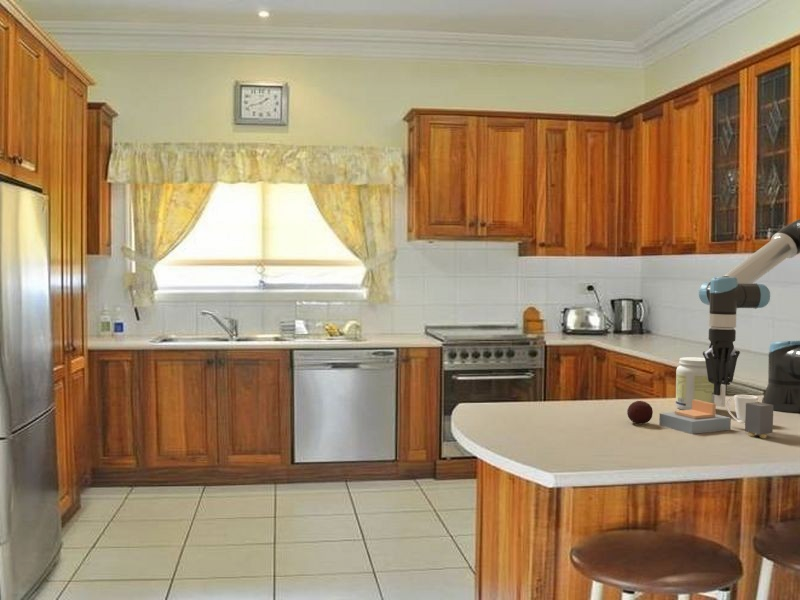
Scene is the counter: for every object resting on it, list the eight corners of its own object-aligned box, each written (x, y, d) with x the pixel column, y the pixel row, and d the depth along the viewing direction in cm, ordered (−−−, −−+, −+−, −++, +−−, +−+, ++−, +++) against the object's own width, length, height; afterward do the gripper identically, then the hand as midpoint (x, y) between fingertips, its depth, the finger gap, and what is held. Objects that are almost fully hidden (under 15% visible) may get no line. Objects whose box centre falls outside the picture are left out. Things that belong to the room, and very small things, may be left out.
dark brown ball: (653, 422, 235) (654, 399, 234) (650, 427, 228) (651, 404, 227) (628, 420, 238) (629, 397, 237) (625, 425, 231) (625, 401, 230)
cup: (748, 425, 231) (748, 399, 231) (719, 419, 240) (720, 394, 240) (762, 423, 235) (763, 397, 234) (734, 417, 243) (735, 392, 243)
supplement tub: (717, 408, 259) (718, 358, 258) (710, 414, 249) (711, 362, 248) (679, 404, 266) (681, 355, 265) (671, 409, 255) (672, 359, 255)
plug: (757, 433, 220) (758, 401, 220) (772, 437, 216) (773, 404, 215) (744, 435, 218) (745, 403, 218) (759, 438, 214) (760, 406, 213)
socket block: (696, 421, 237) (697, 409, 237) (730, 429, 225) (730, 417, 225) (659, 424, 231) (659, 413, 231) (691, 433, 219) (692, 421, 219)
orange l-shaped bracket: (694, 411, 233) (695, 399, 233) (715, 416, 226) (715, 403, 226) (674, 413, 230) (674, 401, 230) (694, 418, 223) (695, 405, 223)
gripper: (728, 326, 237) (725, 402, 238) (696, 327, 232) (693, 404, 233) (748, 328, 230) (745, 406, 231) (715, 329, 225) (713, 409, 226)
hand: (719, 405), depth 232 cm, fingers closed
